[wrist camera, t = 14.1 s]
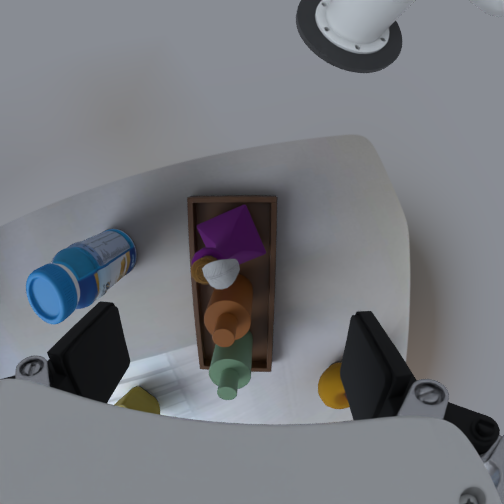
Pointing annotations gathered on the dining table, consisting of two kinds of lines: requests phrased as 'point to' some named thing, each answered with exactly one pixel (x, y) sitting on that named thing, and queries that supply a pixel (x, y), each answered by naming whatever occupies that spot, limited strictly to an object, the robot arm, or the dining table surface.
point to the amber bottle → (230, 312)
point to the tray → (254, 270)
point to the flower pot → (139, 401)
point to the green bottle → (232, 366)
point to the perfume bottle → (226, 247)
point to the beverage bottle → (80, 275)
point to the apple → (332, 388)
